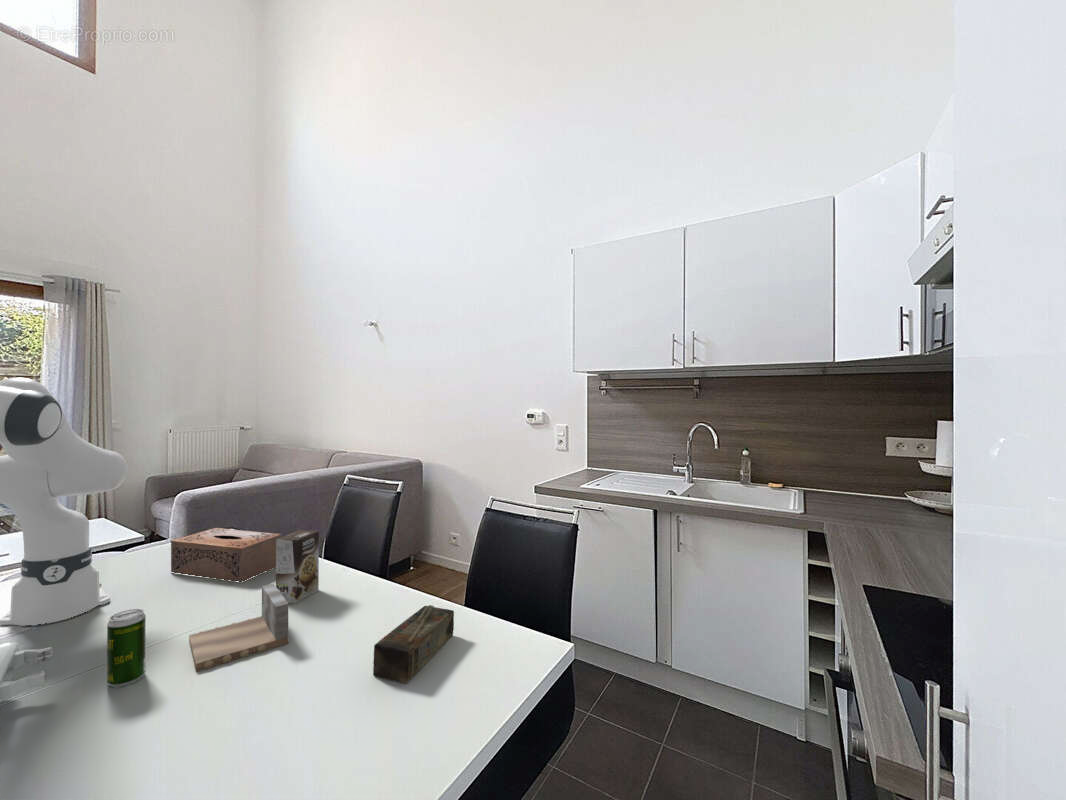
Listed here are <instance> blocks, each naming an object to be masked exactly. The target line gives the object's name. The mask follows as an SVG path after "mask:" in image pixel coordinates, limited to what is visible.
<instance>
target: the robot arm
mask: <svg viewBox="0 0 1066 800" xmlns="http://www.w3.org/2000/svg"><path fill="white" fill-rule="evenodd" d="M0 446H1V447H2V449H3V450H4V452H5V454H4V455H0V503H1V504H3V505H4V506H5V507H7V508H8V509H9V510H10V511H11V512H12V513H13V514H14V516H15V517H16V518H17V520H18V522H19V524H20V526H21V530H22V537H23V539H22V540H23V558H22V559H21V564H20V575H21V576H22V577H21V578H20V579H19V580H18V581H17V582H15V583H14V585H12V587H11V593H10V611H8V612H7V613H6V614H5V615H4V616H2V617H1V618H0V626H4V625H8V626H9V625H15V626H21V627H29V626H28V625H32V626H38V625H37V624H41V625H46V624H45V623H47V624H51V623H52V624H53V623H56V622H61V621H65V620H68V619H72V618H75V617H77V615H78V616H80V615H79V614H81V615H83V614H85V613H84V612H86V613H87V611H88V612H90V611H91V610H90V609H92V608H94V607H96V606H98V605H101V604H103V605H105V604H104V603H106V602H108V601H110V602H111V598H110V596H109V595H108V594H107V592H106V591H105V590H104V589H103V588H102V584H101V582H100V571H99V570H97V568H95V567H93V566H92V561H93V553H92V548H90V521H89V519H88V517H87V516H86V515H85V514H83V513H82V512H80V511H77V510H74V509H70V508H67V507H65V506H64V505H63V504H61V502H60V501H59V500H58V497H72V496H73V497H74V496H75V497H77V496H89V495H94V494H101V493H105V492H110V491H114V490H116V489H118V488H119V487H120V486H121V485H122V484H123V483H124V481H126V478H127V476H128V472H129V469H128V464H127V461H126V459H125V458H124V456H122V455H121V454H120V453H119V452H117V451H113V450H109V449H105V448H103V447H99V446H97V445H95V444H93V443H90V442H89V441H87V440H85V439H83V438H82V437H81V436H79V435H78V434H77V433H76V432H75V431H74V429H73V428H72V426H71V425H70V423H69V421H68V419H67V417H66V415H65V413H64V410H63V408H62V407H61V405H60V403H59V402H58V400H57V399H56V398H55V396H54V395H53V394H52V392H50V391H49V390H48V389H47V388H46V386H45V385H43V384H42V383H41V382H39V381H38V380H34V379H32V378H31V379H30V378H26V377H9V378H4V379H1V380H0ZM106 604H107V603H106ZM101 606H102V605H101ZM98 607H99V606H98ZM96 608H97V607H96ZM94 609H95V608H94ZM89 610H90V611H89ZM92 610H93V609H92ZM82 613H83V614H82ZM74 616H75V617H74ZM71 617H72V618H71ZM34 624H35V625H34ZM26 625H27V626H26ZM52 658H53V647H51V646H49V647H45V648H40V649H23V650H19V643H18V642H11V641H10V642H9V641H8V642H1V643H0V702H1V701H3V700H7V699H11V698H13V697H15V696H17V695H19V694H21V693H23V692H25V691H27V690H29V689H30V690H31V689H33V688H36V687H37V688H38V687H40V686H42V685H43V684H44V682H45V676H46V675H45V671H44V670H39V671H36V672H32V673H29V674H28V676H25V677H21V678H19V679H16V680H14V681H12V680H10V679H11V677H12V675H13V672H14V671H15V668H17V667H22V666H24V665H25V664H29V663H37V664H39V663H44V662H47V661H48V662H49V661H50V660H52Z"/></svg>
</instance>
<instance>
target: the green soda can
mask: <svg viewBox="0 0 1066 800" xmlns="http://www.w3.org/2000/svg"><path fill="white" fill-rule="evenodd" d="M146 617H147V616H146V613H145V610H144V609H142V608H133V609H132V608H131V609H126V610H123V611H122V610H121V611H120V612H117V613H114V614H113V615H111V616H109V618H108V622H107V626H106V628H107V631H106V634H107V635H106V636H107V637H106V638H107V639H106V640H107V641H106V643H107V644H106V647H107V648H106V653H107V654H106V662H107V663H106V669H107V670H106V677H107V678H106V683H107V685H108V686H109V687H110V686H111V687H110V688H113V687H118V688H123V687H122V686H124V687H127V686H130V685H132V683H133V684H135V683H136V682H139V681H140V680H141V679H143V677H144V675H145V673H146V619H147V618H146ZM126 685H127V686H126Z"/></svg>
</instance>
